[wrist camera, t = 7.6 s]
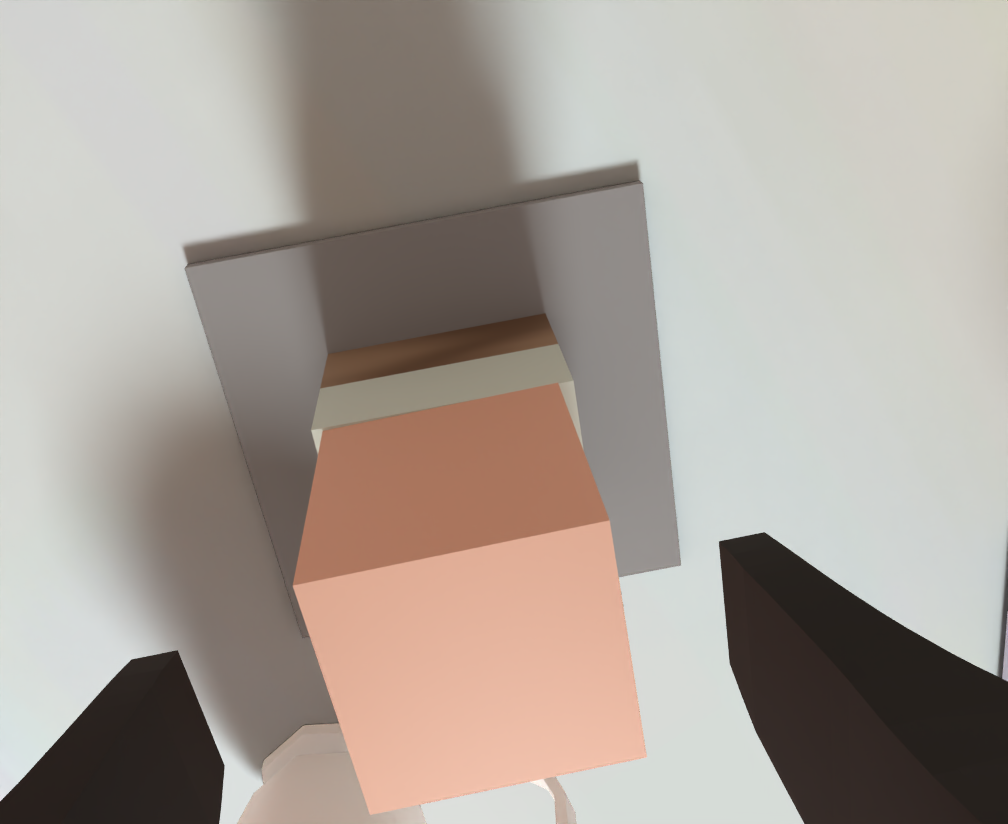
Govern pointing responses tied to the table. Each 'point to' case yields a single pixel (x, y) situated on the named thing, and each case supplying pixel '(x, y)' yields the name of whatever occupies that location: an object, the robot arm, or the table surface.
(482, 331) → the tower base
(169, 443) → the table surface
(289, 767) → the cup
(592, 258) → the coaster
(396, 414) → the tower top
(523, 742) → the block
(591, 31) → the table surface
